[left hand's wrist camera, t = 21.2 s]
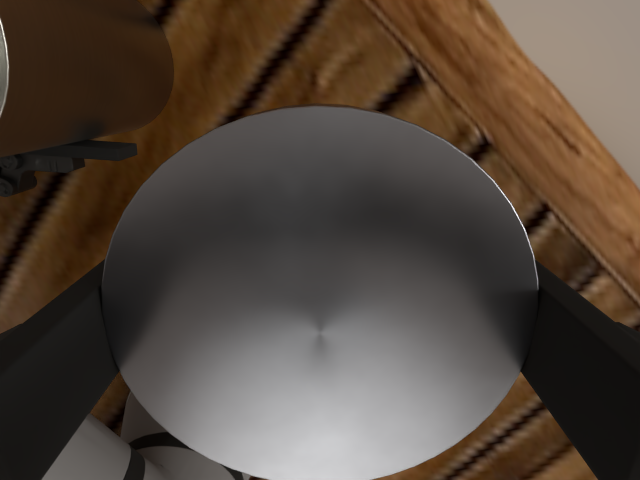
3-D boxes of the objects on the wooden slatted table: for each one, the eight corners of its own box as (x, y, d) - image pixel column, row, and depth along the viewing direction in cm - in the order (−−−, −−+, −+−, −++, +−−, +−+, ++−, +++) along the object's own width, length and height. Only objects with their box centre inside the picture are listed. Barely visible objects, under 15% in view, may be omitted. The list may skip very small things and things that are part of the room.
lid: (267, 486, 15) (262, 530, 13) (44, 243, 11) (2, 266, 10) (564, 356, 13) (596, 391, 11) (404, 5, 9) (421, -11, 8)
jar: (97, -50, 28) (-291, -301, 10) (201, 74, 31) (42, 49, 13) (9, 51, 30) (-435, -8, 12) (113, 157, 33) (-124, 234, 15)
